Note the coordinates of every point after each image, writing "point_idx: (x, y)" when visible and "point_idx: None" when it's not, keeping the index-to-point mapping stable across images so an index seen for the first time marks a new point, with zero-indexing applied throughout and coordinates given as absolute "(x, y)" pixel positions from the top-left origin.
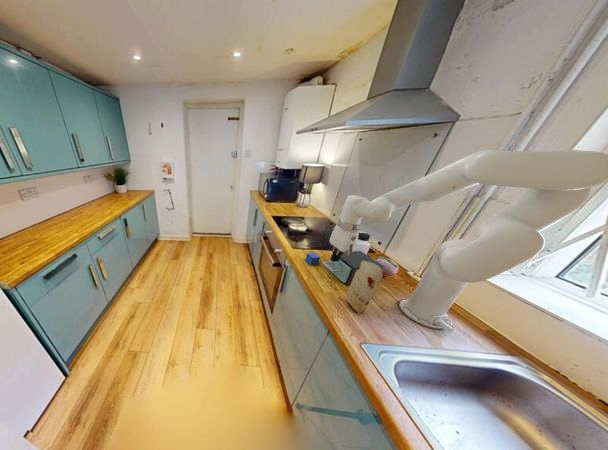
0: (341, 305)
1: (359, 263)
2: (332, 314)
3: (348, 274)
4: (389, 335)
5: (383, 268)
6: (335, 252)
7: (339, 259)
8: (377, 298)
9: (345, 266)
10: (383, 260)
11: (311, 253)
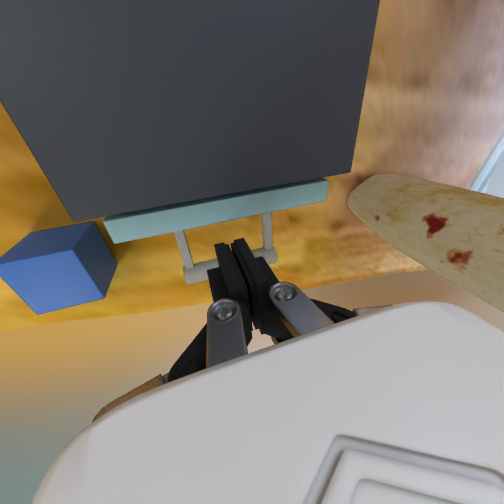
0: (357, 236)
1: (306, 34)
2: (370, 270)
3: None
4: (466, 162)
5: None
6: (250, 333)
7: (247, 246)
8: (381, 36)
9: (293, 206)
10: None
11: (30, 293)
